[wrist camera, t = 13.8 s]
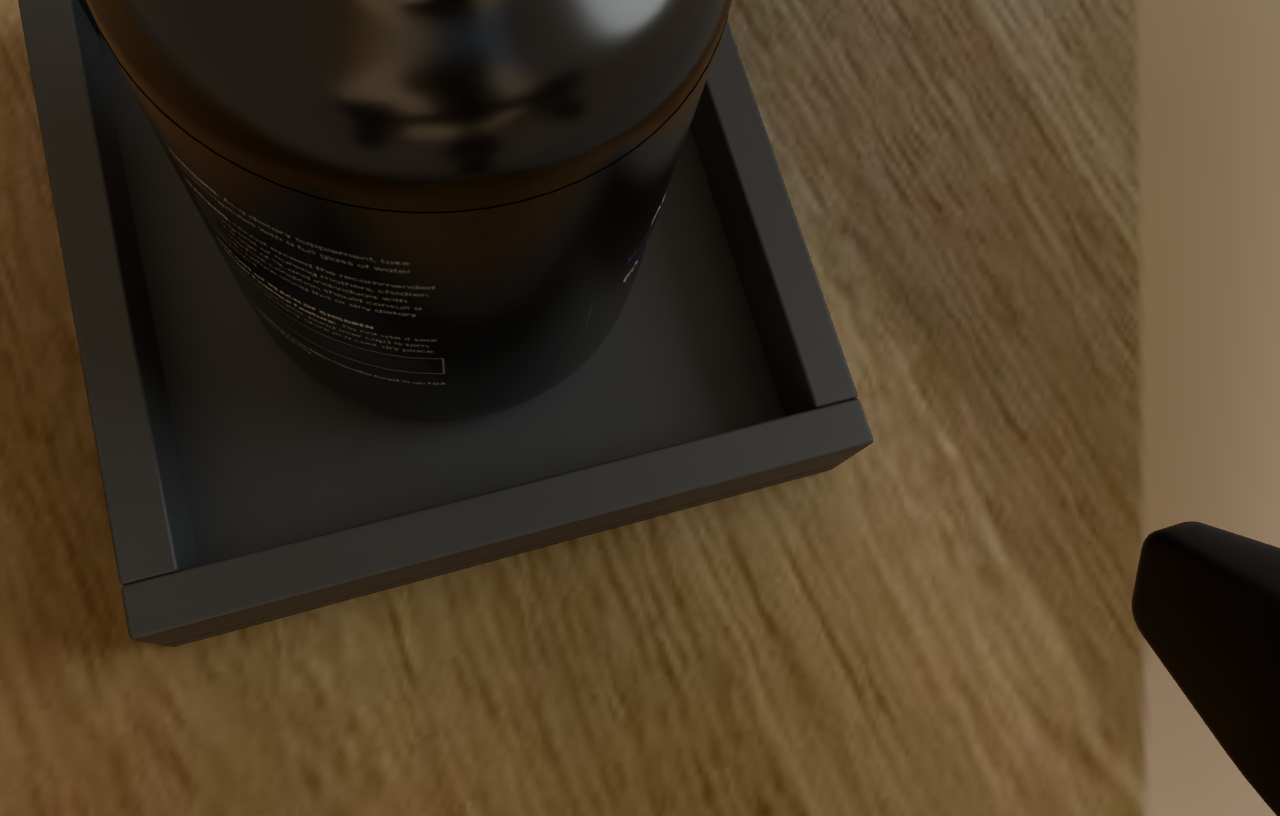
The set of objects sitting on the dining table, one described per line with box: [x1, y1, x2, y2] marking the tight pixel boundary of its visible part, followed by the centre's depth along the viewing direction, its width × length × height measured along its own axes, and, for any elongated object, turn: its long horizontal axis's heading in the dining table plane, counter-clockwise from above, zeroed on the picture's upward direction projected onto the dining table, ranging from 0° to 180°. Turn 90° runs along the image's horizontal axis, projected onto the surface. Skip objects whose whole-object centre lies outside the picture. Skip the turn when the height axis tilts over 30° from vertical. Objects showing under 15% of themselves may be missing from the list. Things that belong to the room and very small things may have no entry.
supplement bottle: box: [86, 0, 732, 419], centre depth 13 cm, size 7×7×12 cm
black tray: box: [18, 0, 873, 647], centre depth 18 cm, size 12×12×2 cm
